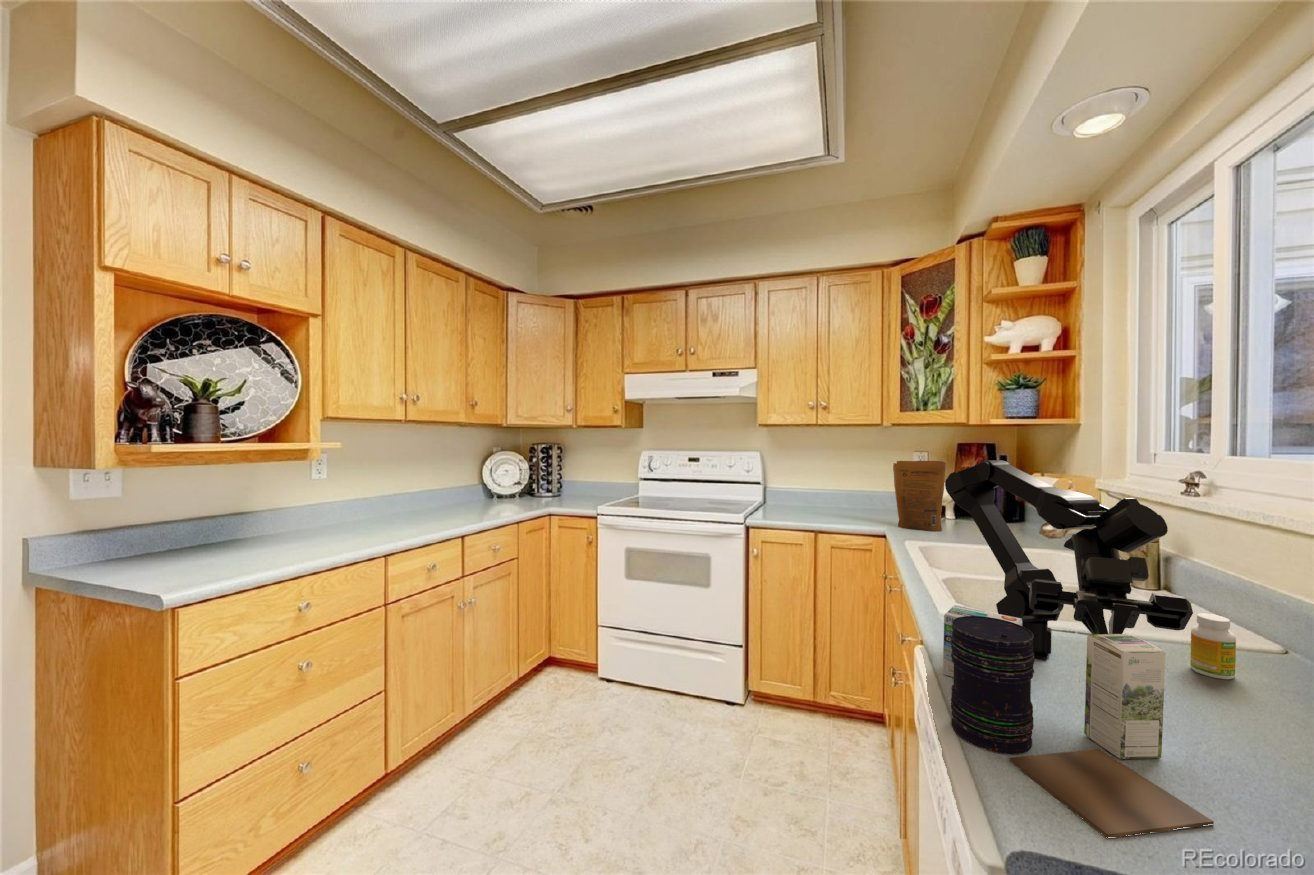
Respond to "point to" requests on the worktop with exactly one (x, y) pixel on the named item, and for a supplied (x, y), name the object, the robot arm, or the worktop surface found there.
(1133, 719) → the syrup box
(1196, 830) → the worktop surface
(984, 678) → the black ridged cylinder
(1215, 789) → the worktop surface
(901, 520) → the pancake mix bag
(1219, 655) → the supplement bottle
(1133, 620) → the robot arm
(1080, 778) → the plate
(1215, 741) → the worktop surface
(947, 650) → the light bulb box
